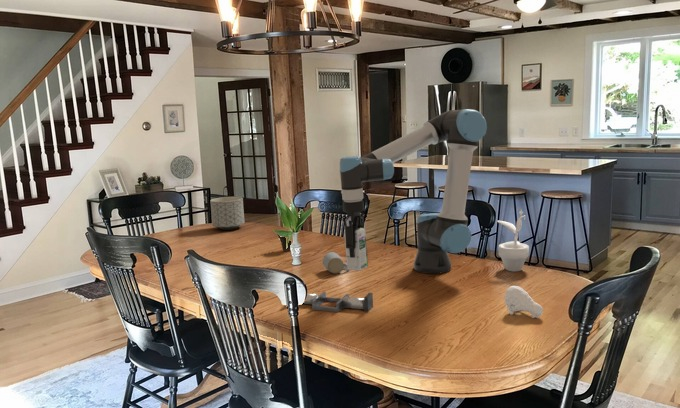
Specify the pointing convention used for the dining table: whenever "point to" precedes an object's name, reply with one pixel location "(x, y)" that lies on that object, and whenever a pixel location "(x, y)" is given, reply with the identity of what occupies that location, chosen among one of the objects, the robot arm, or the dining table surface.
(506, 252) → the potted plant
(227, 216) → the planter
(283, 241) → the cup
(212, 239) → the dining table surface
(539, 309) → the white lumpy piece
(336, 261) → the ceramic mug
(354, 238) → the robot arm
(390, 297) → the dining table surface
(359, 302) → the coupling cradle
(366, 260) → the syrup box
